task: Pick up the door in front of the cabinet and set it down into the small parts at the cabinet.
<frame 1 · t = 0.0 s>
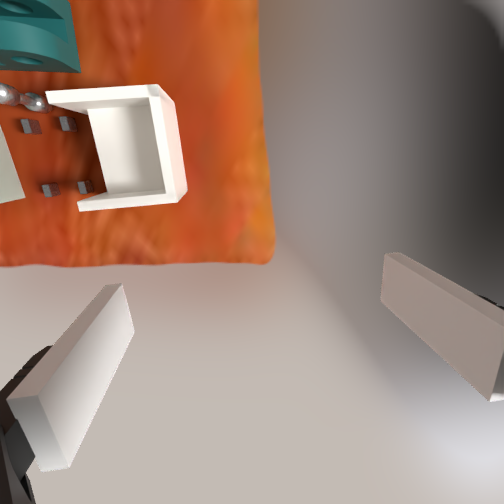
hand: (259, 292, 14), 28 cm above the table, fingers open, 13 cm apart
small parts: (63, 158, 36), on the table
cabinet: (142, 151, 37), on the table
door: (3, 163, 36), on the table
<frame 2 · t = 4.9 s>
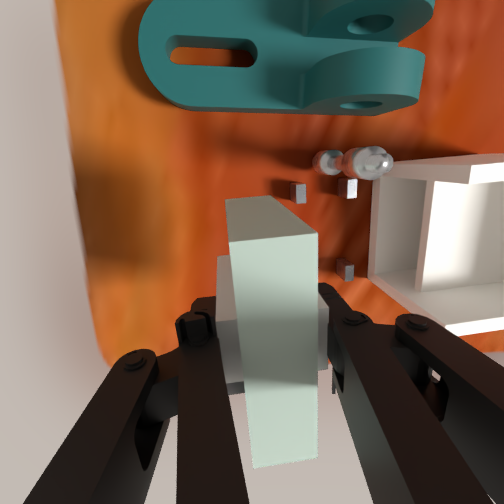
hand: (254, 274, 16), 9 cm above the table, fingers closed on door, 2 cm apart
small parts: (318, 230, 26), on the table
bracket: (267, 65, 22), on the table
cabinet: (420, 219, 27), on the table
door: (253, 273, 17), point 9 cm above the table, touching gripper
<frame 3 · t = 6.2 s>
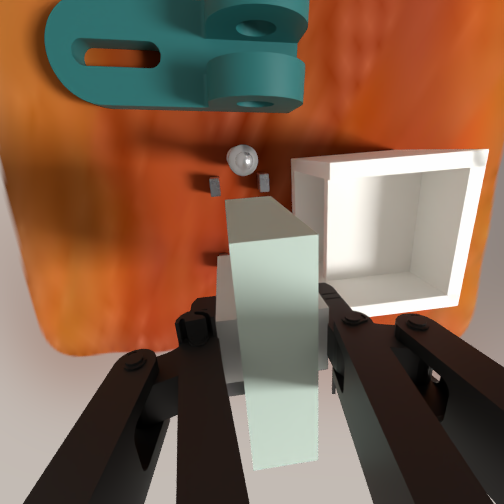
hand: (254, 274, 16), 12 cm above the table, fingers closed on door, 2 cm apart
small parts: (242, 222, 27), on the table
bracket: (181, 65, 23), on the table
cabinet: (341, 212, 28), on the table
door: (253, 273, 17), point 12 cm above the table, touching gripper
when the fingers open (1 cm above the table, at t = 7.8 s): door stays where it is, on the table.
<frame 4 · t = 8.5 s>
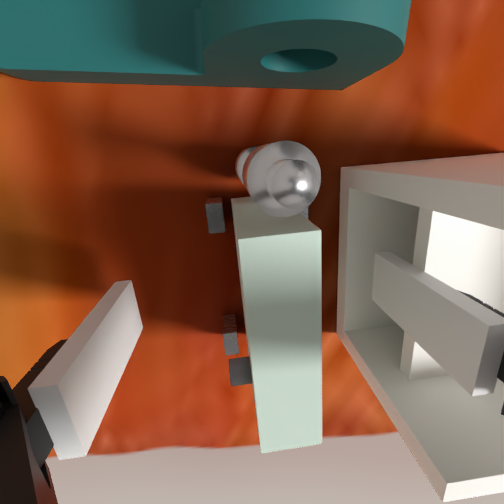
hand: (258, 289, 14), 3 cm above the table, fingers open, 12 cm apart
small parts: (258, 267, 17), on the table
bracket: (156, 2, 13), on the table
cabinet: (415, 250, 18), on the table
door: (259, 269, 17), on the table
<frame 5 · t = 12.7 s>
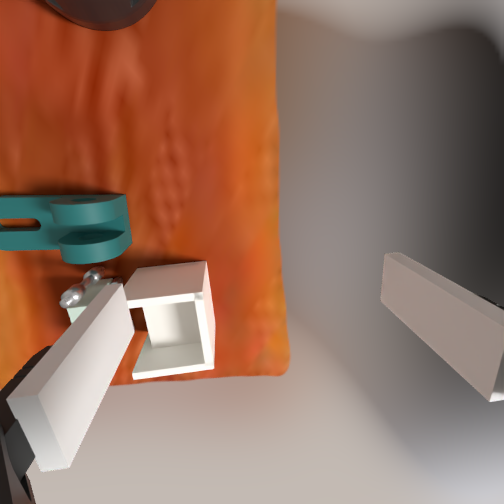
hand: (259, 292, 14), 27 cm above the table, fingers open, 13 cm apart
small parts: (111, 305, 42), on the table
bracket: (60, 219, 38), on the table
cabinet: (178, 297, 43), on the table
door: (111, 306, 42), on the table
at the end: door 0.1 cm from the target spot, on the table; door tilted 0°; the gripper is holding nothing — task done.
